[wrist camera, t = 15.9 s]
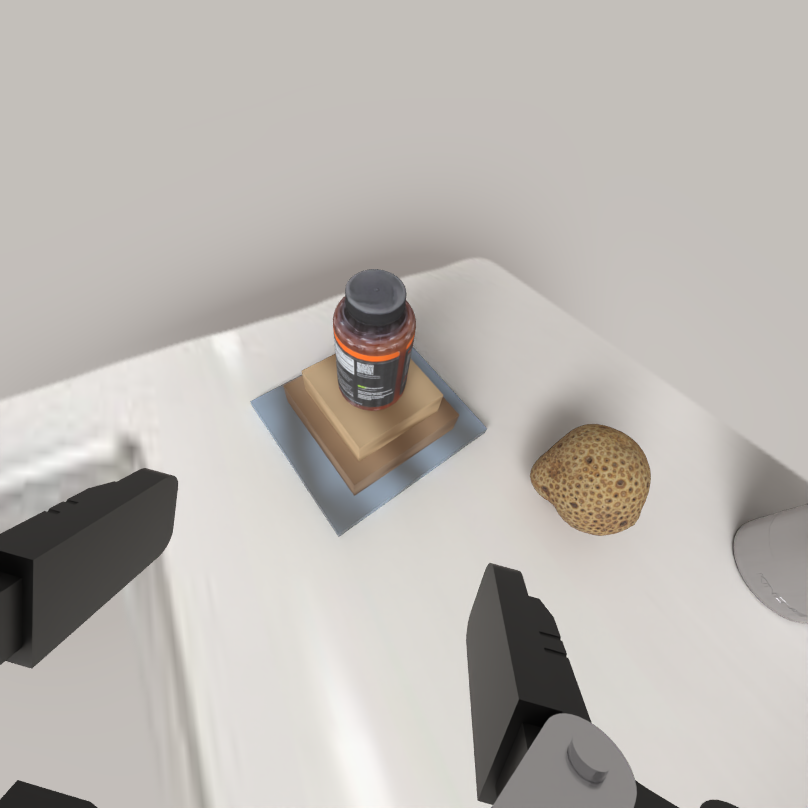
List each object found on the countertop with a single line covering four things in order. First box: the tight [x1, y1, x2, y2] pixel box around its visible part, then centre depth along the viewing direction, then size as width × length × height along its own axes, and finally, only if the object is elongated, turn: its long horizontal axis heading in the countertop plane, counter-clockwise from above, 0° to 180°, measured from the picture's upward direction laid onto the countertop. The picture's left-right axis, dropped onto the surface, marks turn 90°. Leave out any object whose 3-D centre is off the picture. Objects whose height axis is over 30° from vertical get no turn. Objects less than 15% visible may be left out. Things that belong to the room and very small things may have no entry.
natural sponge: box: [530, 424, 651, 536], centre depth 36 cm, size 9×9×10 cm
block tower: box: [250, 347, 487, 536], centre depth 39 cm, size 18×16×7 cm
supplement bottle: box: [333, 269, 416, 411], centre depth 31 cm, size 6×6×11 cm
